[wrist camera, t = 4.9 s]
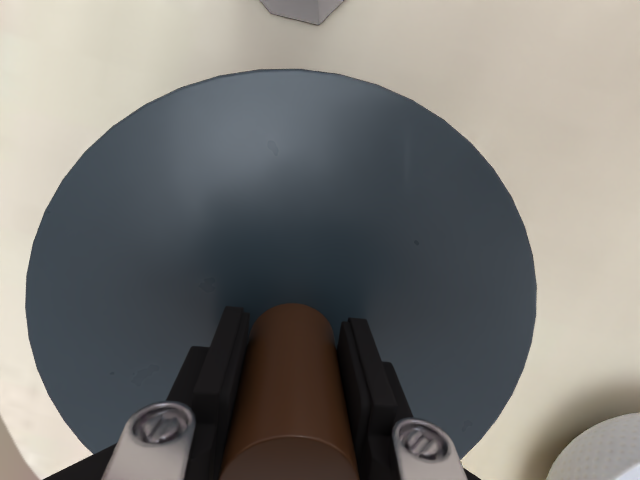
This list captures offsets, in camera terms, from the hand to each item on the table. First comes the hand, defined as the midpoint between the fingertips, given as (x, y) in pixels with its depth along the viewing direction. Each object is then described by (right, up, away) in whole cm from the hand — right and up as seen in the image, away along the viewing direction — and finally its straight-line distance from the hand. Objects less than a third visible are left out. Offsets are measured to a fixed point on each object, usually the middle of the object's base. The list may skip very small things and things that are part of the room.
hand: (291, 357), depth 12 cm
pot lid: (0, 0, +1) cm, 1 cm away
